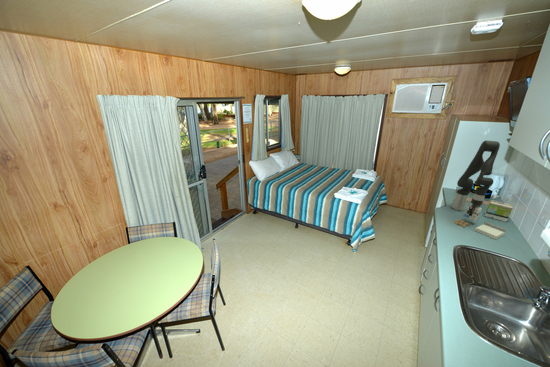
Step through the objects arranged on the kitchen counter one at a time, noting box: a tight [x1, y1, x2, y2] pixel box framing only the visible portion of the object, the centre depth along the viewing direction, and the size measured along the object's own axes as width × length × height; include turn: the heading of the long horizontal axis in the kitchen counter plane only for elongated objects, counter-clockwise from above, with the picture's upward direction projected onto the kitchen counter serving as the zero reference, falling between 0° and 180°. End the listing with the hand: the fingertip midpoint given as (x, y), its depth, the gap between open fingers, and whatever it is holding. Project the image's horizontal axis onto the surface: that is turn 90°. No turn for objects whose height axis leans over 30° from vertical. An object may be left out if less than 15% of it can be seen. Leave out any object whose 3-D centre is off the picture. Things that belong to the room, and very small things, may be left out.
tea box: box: [484, 199, 513, 223], centre depth 204 cm, size 15×10×15 cm, turn 47°
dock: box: [474, 221, 507, 240], centre depth 183 cm, size 14×14×5 cm
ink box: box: [463, 203, 483, 221], centre depth 196 cm, size 8×5×12 cm, turn 24°
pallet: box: [453, 218, 470, 228], centre depth 197 cm, size 8×8×2 cm
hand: (471, 215), depth 197 cm, fingers closed on ink box, 5 cm apart
